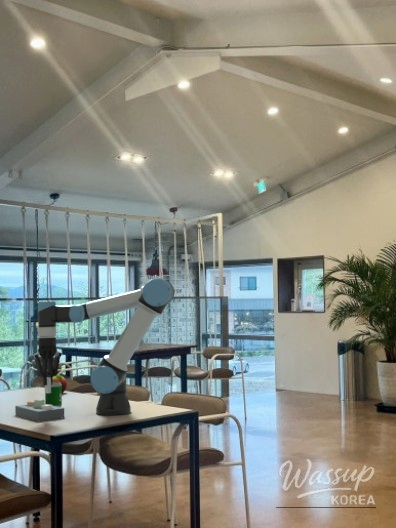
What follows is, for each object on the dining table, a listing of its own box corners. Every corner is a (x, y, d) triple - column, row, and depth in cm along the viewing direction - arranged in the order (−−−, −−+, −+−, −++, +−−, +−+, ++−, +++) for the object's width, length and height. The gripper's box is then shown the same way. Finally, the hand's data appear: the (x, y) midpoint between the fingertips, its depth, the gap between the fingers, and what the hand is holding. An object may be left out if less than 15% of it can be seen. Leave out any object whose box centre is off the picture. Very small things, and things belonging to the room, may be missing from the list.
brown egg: (39, 413, 288) (39, 401, 288) (29, 414, 285) (29, 403, 286) (34, 412, 291) (34, 400, 292) (25, 413, 289) (25, 402, 289)
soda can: (57, 409, 300) (57, 383, 301) (42, 409, 302) (42, 383, 303) (64, 407, 308) (64, 381, 308) (49, 407, 309) (49, 381, 310)
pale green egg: (46, 411, 283) (46, 400, 283) (37, 412, 280) (37, 401, 280) (41, 410, 286) (41, 399, 286) (32, 411, 283) (32, 400, 284)
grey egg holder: (64, 417, 278) (64, 408, 279) (38, 421, 271) (38, 411, 271) (40, 411, 295) (40, 402, 295) (15, 415, 288) (15, 405, 288)
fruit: (61, 391, 366) (60, 373, 367) (70, 393, 358) (70, 374, 359) (43, 393, 360) (43, 375, 360) (52, 395, 351) (52, 376, 352)
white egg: (54, 417, 277) (54, 405, 278) (44, 418, 275) (44, 406, 275) (49, 416, 281) (49, 404, 281) (39, 417, 278) (39, 405, 278)
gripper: (56, 336, 287) (57, 390, 286) (29, 337, 279) (29, 393, 277) (65, 336, 281) (65, 392, 280) (37, 338, 273) (37, 395, 272)
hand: (47, 392), depth 279 cm, fingers closed
